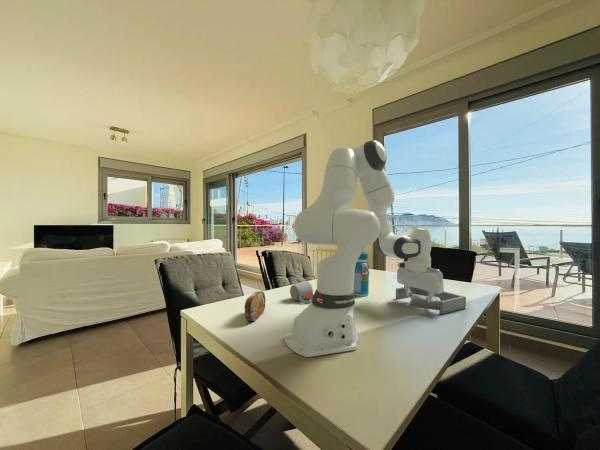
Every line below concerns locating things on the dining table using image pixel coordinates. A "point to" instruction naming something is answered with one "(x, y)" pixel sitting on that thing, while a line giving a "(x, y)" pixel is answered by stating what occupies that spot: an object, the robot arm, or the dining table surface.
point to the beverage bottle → (361, 276)
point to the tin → (254, 306)
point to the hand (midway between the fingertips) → (418, 298)
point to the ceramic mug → (301, 291)
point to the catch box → (447, 299)
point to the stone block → (421, 301)
